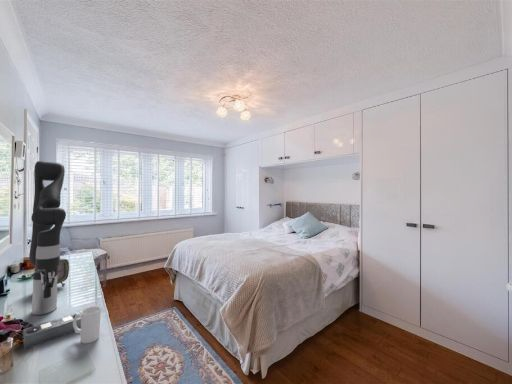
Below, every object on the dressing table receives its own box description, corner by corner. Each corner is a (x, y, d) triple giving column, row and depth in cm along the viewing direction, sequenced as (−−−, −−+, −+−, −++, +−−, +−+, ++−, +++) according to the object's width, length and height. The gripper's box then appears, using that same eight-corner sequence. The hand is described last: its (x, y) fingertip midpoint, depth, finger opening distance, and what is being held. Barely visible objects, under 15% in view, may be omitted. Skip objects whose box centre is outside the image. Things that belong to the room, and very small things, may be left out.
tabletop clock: (43, 295, 134) (45, 251, 134) (31, 293, 136) (32, 250, 136) (68, 285, 148) (69, 246, 148) (57, 283, 150) (58, 245, 150)
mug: (103, 333, 101) (103, 305, 101) (94, 343, 94) (95, 314, 94) (77, 334, 99) (78, 306, 99) (67, 345, 93) (68, 315, 93)
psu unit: (22, 341, 94) (23, 328, 94) (82, 321, 109) (83, 310, 109) (24, 349, 89) (25, 336, 89) (87, 327, 105) (87, 315, 105)
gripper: (63, 257, 95) (62, 299, 95) (56, 251, 104) (55, 289, 104) (38, 261, 89) (37, 305, 89) (33, 254, 98) (32, 295, 98)
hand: (46, 297), depth 96 cm, fingers closed
